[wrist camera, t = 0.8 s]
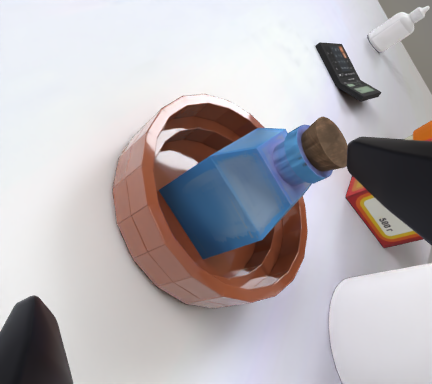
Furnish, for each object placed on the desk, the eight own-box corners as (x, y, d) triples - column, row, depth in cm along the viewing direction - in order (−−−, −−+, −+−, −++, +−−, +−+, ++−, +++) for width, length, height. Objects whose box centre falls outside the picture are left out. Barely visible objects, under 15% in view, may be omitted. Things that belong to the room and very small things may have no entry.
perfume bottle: (207, 161, 30) (324, 84, 21) (244, 220, 30) (373, 168, 22) (158, 190, 25) (281, 107, 17) (202, 259, 26) (344, 212, 17)
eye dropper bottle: (379, 57, 78) (435, 21, 70) (366, 36, 77) (421, -3, 69) (381, 51, 81) (435, 16, 73) (368, 31, 80) (422, -7, 72)
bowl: (285, 289, 31) (327, 282, 28) (126, 330, 21) (165, 325, 18) (246, 136, 35) (279, 115, 32) (99, 107, 25) (126, 71, 22)
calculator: (337, 47, 63) (352, 36, 60) (366, 103, 62) (382, 94, 60) (315, 45, 56) (331, 33, 54) (347, 108, 55) (364, 99, 53)
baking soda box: (345, 197, 45) (491, 143, 33) (354, 170, 49) (485, 115, 38) (384, 248, 47) (534, 213, 35) (388, 218, 51) (523, 179, 40)
